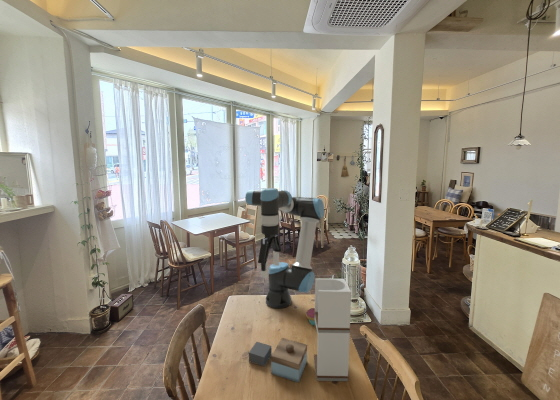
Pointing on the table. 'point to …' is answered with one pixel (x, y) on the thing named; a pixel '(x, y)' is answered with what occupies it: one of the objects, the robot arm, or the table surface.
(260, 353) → the block
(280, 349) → the lid
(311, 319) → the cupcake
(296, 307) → the table surface
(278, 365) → the dish
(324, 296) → the white stacked pedestal
